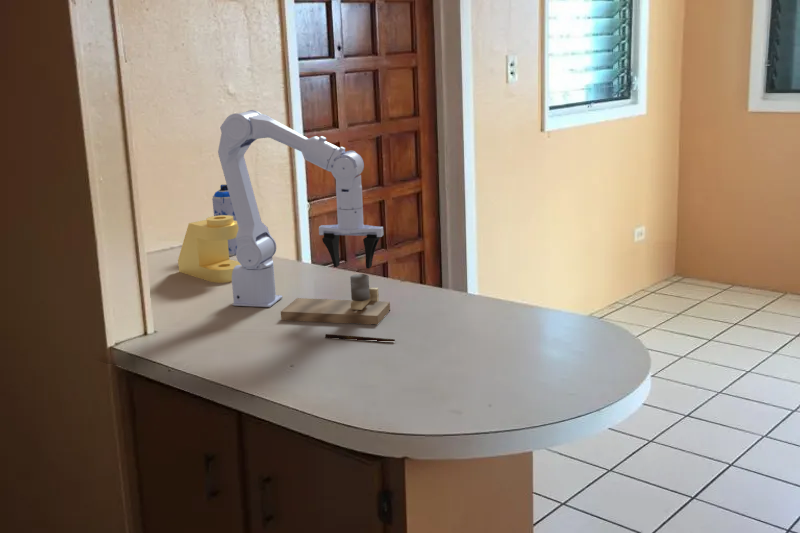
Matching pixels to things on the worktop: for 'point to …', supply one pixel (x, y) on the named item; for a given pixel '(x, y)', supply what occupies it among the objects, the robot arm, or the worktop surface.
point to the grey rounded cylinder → (362, 291)
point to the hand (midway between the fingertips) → (352, 266)
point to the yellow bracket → (209, 249)
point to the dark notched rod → (356, 337)
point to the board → (334, 311)
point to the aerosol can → (225, 212)
